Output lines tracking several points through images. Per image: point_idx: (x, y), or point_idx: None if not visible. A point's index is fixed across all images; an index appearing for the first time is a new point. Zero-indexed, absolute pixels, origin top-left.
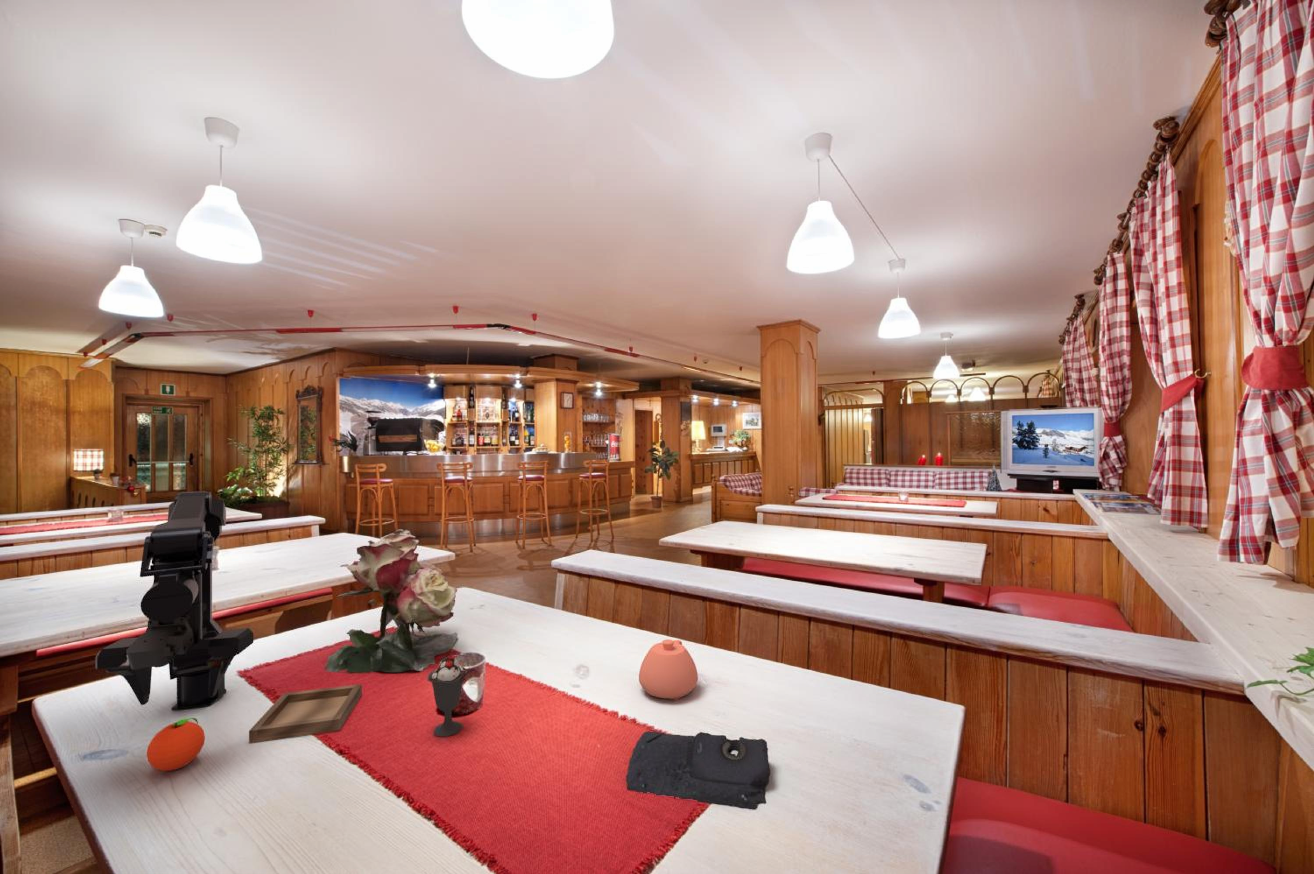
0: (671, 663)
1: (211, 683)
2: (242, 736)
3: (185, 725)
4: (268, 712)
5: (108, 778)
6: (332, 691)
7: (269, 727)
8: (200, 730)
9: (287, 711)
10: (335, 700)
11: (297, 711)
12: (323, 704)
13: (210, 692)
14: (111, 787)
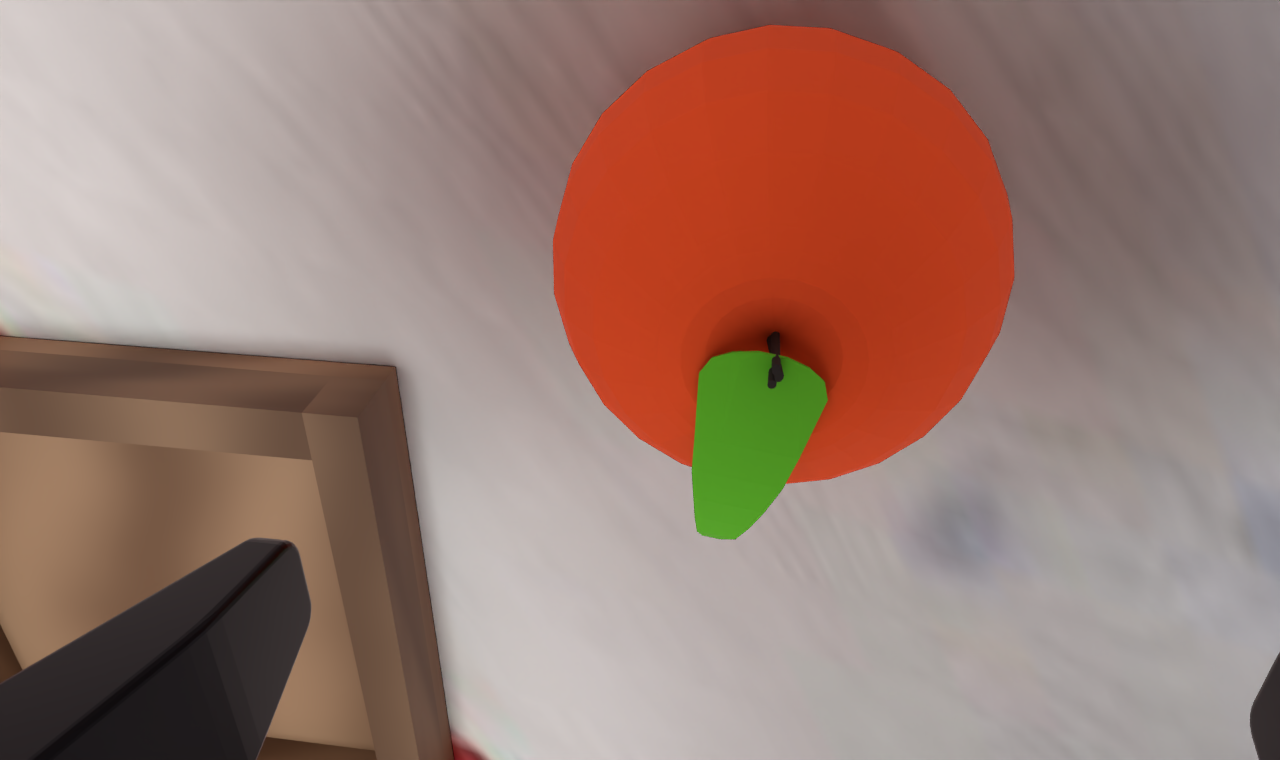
0: None
1: (60, 700)
2: (498, 473)
3: (666, 332)
4: (379, 633)
5: (1271, 183)
6: None
7: (224, 416)
8: (566, 326)
9: (342, 657)
10: None
11: None
12: None
13: (224, 581)
14: (1197, 10)
